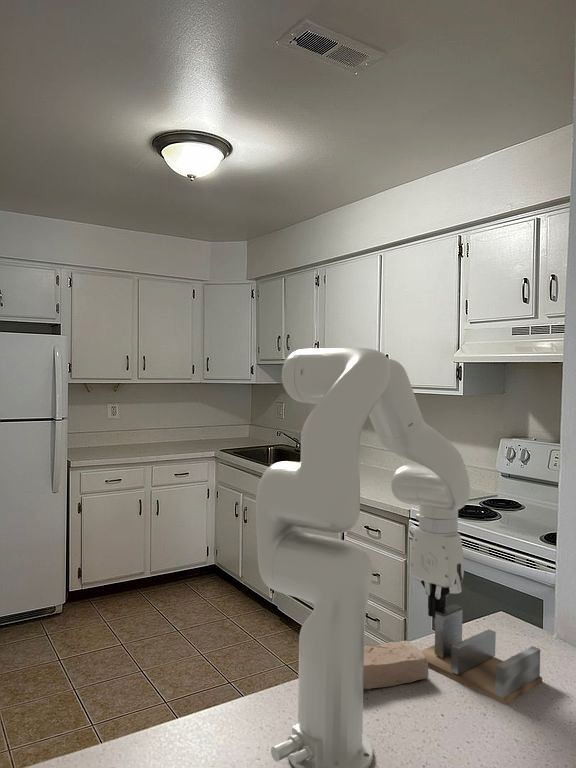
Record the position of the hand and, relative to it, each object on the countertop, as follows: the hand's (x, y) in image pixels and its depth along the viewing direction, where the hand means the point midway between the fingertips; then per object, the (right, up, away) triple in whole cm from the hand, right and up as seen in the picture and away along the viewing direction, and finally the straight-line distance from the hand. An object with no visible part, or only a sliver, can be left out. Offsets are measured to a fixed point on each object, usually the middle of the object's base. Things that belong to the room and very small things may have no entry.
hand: (436, 615), depth 119 cm
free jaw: (+3, -6, -4) cm, 8 cm away
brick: (-11, -7, -14) cm, 19 cm away
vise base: (+6, -8, -7) cm, 12 cm away
